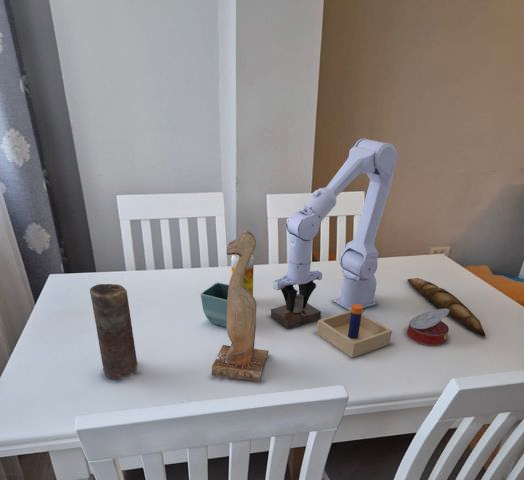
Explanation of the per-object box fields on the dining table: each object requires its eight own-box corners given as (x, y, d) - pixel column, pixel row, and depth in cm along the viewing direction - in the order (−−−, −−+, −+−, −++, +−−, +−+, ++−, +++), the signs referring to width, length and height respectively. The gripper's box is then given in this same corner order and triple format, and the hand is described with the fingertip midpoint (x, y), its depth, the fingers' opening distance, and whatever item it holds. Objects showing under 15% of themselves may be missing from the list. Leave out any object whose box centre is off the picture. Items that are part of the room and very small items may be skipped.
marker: (353, 332, 122) (357, 302, 118) (360, 337, 120) (365, 307, 116) (345, 335, 121) (349, 305, 117) (352, 340, 119) (357, 309, 115)
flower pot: (245, 318, 129) (246, 288, 124) (230, 332, 122) (230, 301, 117) (217, 311, 132) (216, 281, 127) (200, 325, 125) (199, 293, 120)
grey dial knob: (297, 306, 131) (298, 291, 129) (305, 311, 128) (306, 296, 126) (286, 308, 129) (287, 294, 127) (294, 314, 127) (295, 299, 124)
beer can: (250, 309, 134) (251, 258, 126) (229, 307, 135) (228, 256, 127) (254, 300, 139) (255, 251, 131) (234, 298, 140) (234, 249, 132)
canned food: (427, 361, 122) (423, 337, 115) (401, 339, 129) (396, 315, 121) (461, 336, 123) (460, 310, 115) (434, 316, 130) (431, 291, 122)
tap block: (302, 308, 135) (303, 299, 134) (320, 319, 130) (321, 310, 128) (270, 317, 130) (271, 308, 129) (287, 329, 125) (288, 320, 123)
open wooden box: (352, 322, 129) (354, 309, 127) (389, 344, 119) (392, 330, 117) (316, 333, 123) (318, 320, 121) (352, 358, 113) (354, 343, 111)
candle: (107, 361, 109) (93, 280, 98) (140, 361, 110) (129, 280, 99) (100, 381, 102) (85, 296, 92) (135, 380, 103) (123, 296, 93)
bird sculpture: (220, 351, 114) (217, 219, 97) (268, 355, 113) (274, 222, 97) (211, 378, 105) (206, 236, 88) (264, 382, 104) (268, 240, 87)
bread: (400, 282, 153) (403, 268, 151) (413, 281, 155) (416, 266, 152) (476, 340, 122) (481, 323, 120) (492, 338, 124) (498, 321, 121)
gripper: (312, 251, 128) (308, 297, 135) (267, 260, 121) (265, 308, 128) (329, 259, 123) (324, 306, 130) (283, 269, 116) (280, 319, 123)
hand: (296, 308), depth 128 cm, fingers closed on grey dial knob, 3 cm apart
